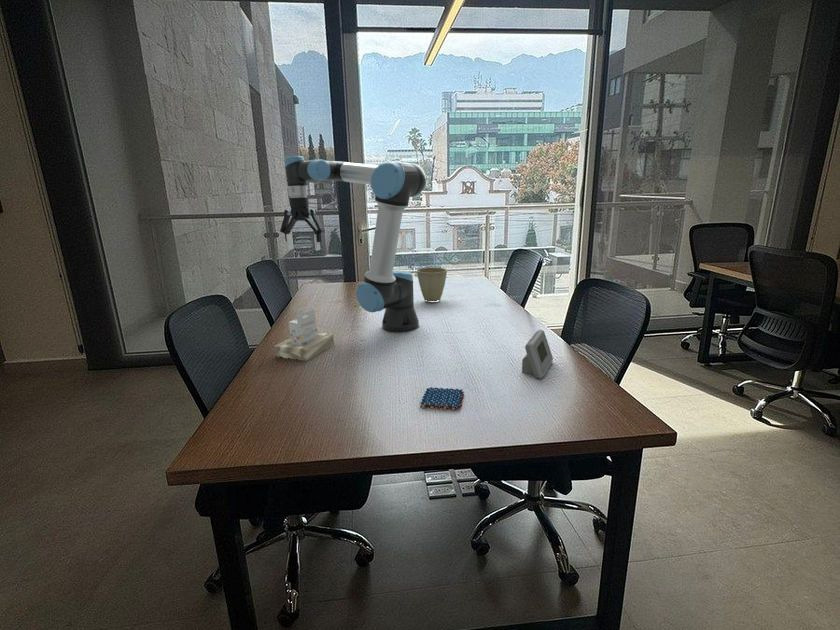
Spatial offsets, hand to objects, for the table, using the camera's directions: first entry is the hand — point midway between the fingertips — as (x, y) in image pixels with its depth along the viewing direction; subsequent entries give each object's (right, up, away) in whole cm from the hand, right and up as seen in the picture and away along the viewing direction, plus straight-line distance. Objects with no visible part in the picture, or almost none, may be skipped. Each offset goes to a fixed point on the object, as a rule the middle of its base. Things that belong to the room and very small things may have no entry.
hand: (304, 249), depth 180 cm
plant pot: (+55, -20, +38) cm, 70 cm away
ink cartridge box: (+7, -40, -24) cm, 47 cm away
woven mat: (+54, -51, -65) cm, 98 cm away
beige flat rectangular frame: (+7, -40, -24) cm, 47 cm away
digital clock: (+85, -44, -47) cm, 107 cm away
